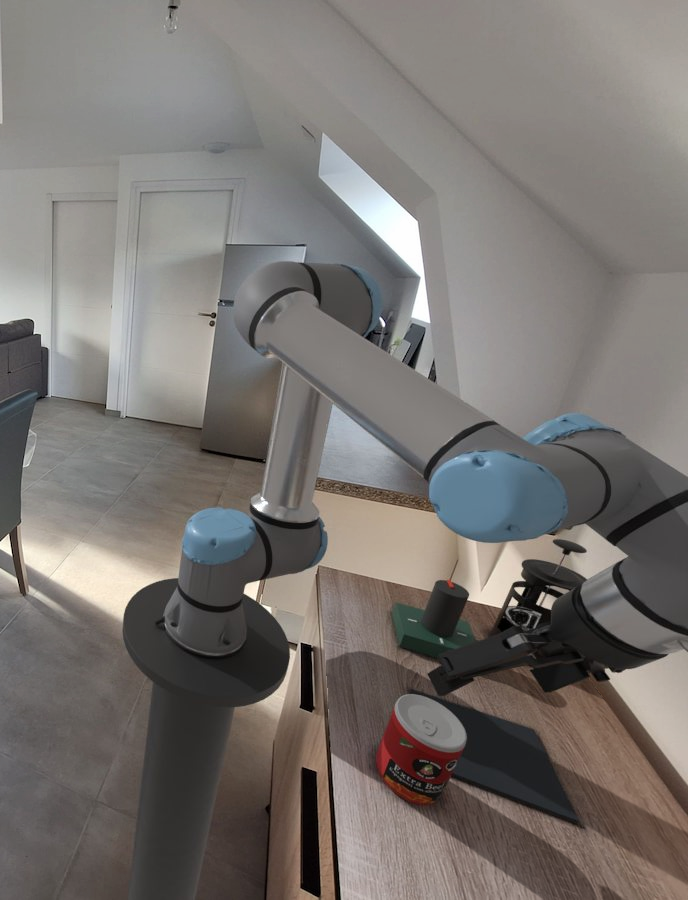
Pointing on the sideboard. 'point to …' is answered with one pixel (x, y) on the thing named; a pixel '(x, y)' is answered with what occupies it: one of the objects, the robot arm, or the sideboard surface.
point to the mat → (507, 761)
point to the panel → (426, 633)
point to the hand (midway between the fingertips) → (487, 683)
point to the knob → (444, 608)
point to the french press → (537, 591)
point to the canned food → (420, 749)
